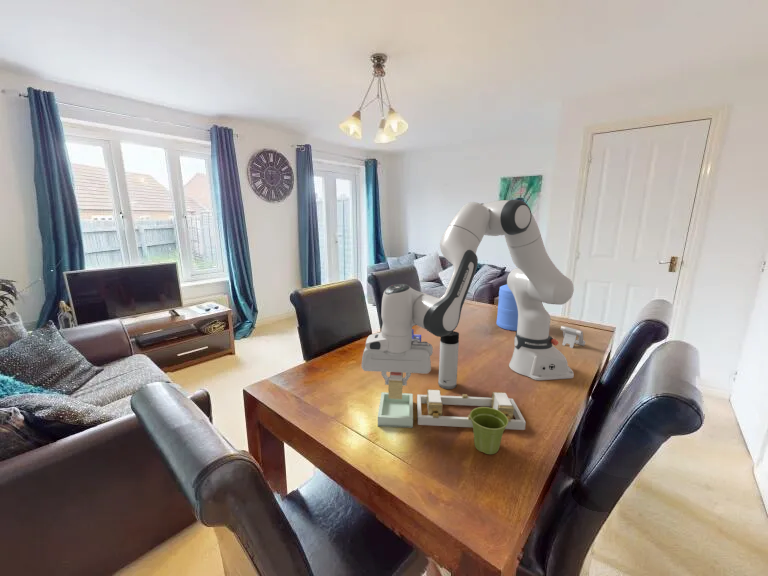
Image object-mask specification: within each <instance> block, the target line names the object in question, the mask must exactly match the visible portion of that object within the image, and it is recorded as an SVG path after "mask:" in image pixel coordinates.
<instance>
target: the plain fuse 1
mask: <svg viewBox="0 0 768 576" xmlns="http://www.w3.org/2000/svg"><path fill="white" fill-rule="evenodd" d="M426 395H427V404H426V407H427V415H430V416H433V413H438V415H439V416H443V404H442V402H441V396H442V395H441V390H440V389H429V388H428V389H427V390H426Z"/></svg>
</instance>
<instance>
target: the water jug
mask: <svg viewBox="0 0 768 576" xmlns="http://www.w3.org/2000/svg"><path fill="white" fill-rule="evenodd" d="M497 302H498V304H497V314H496V315H497V316H496V321H495V322H496V326H498V327H499V328H501V329H504V330H508V331H515V332H516V331H517V326H518V309H517V304H516V301H515V298H514V295H513V293H512V291H511V290H510V289H509V287H508V285H507V283H506V284H504V285H501V286H499V291H498V301H497Z"/></svg>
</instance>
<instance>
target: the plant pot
mask: <svg viewBox="0 0 768 576" xmlns="http://www.w3.org/2000/svg"><path fill="white" fill-rule="evenodd" d="M469 415H470V419H471V421H472V424H473V427H472V430H473V441H474V443H473V444H474V447H475V448H476V450H478V452H482V453H484V454H485V455H486V454H487V455H495V454H497V453H498V451H499V450H500V448H501V447H500V446H501V442H502V439H503V435H504V431H505V430H506V429H505V427H506V426H507V425H508V418H507V417H506V416H505V414H503V413H502V412H501V411H499V410H496V409H493V408H491V407H490V406H477V407H475V408H473V409H472V410H471V411H470V412H469Z"/></svg>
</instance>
